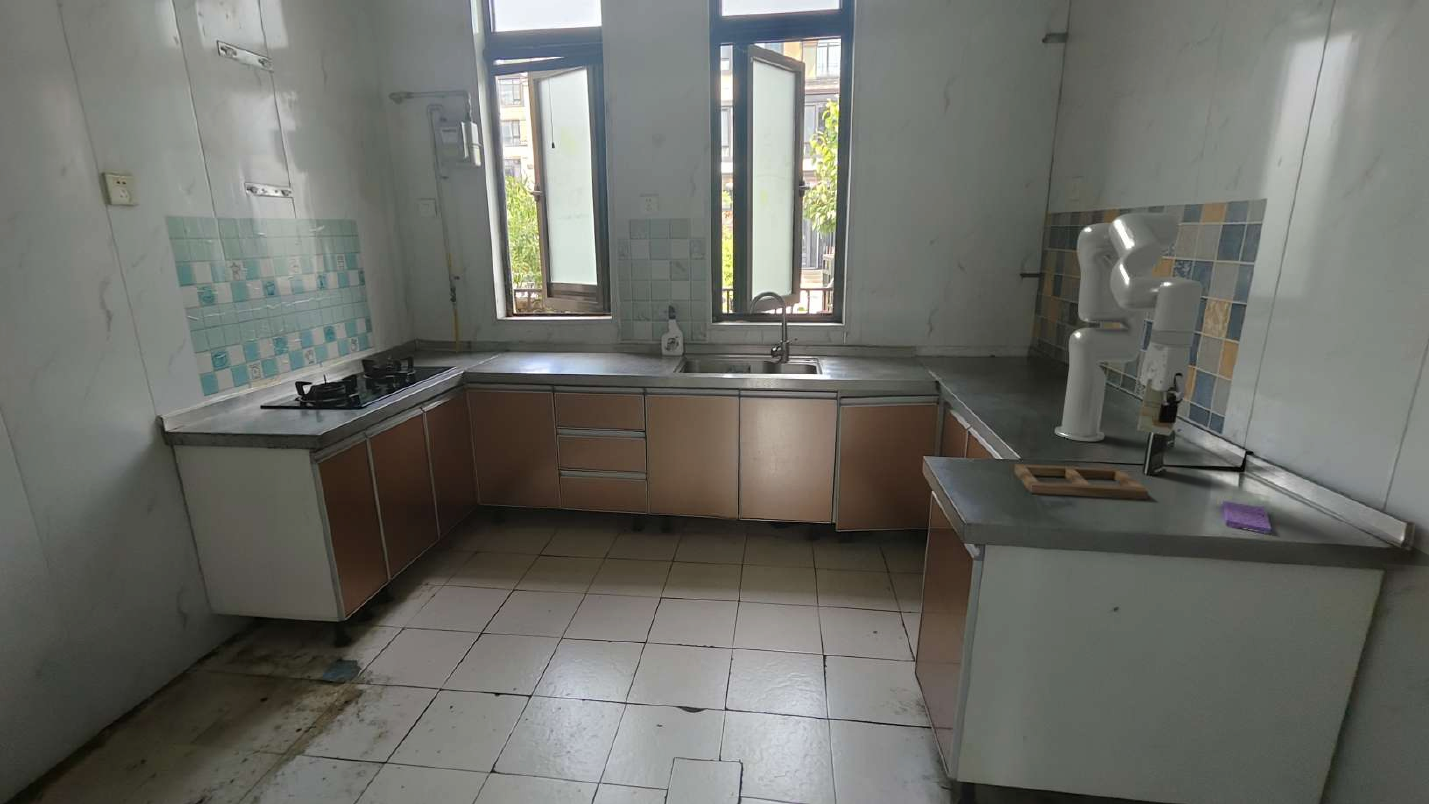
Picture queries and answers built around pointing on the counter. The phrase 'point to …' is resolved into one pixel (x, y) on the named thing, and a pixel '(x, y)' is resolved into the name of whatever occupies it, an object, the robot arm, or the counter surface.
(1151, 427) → the skincare box
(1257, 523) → the sponges
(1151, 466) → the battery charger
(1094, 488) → the rack
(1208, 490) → the counter surface
